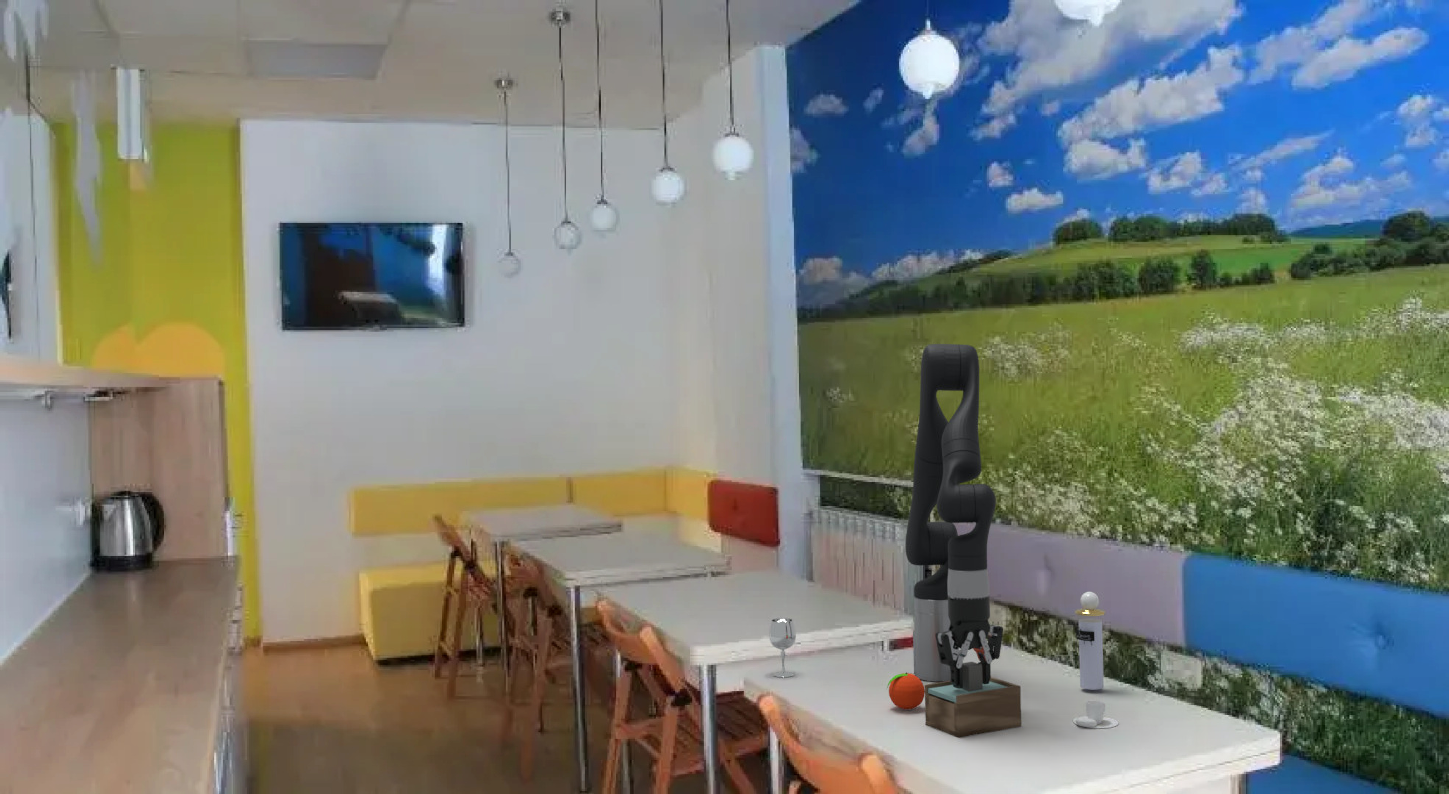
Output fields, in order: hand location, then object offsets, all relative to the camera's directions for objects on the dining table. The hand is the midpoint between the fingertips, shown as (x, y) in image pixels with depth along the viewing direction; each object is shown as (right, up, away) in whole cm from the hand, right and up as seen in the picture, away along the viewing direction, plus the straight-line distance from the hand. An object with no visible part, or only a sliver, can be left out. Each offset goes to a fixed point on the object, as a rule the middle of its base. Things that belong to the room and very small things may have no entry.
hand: (970, 685), depth 225 cm
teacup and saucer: (+20, -8, +1) cm, 21 cm away
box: (0, -7, 0) cm, 7 cm away
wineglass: (-32, -8, +44) cm, 55 cm away
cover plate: (0, -1, 0) cm, 1 cm away
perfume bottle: (+29, -7, +23) cm, 38 cm away
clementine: (-10, -8, +13) cm, 18 cm away
